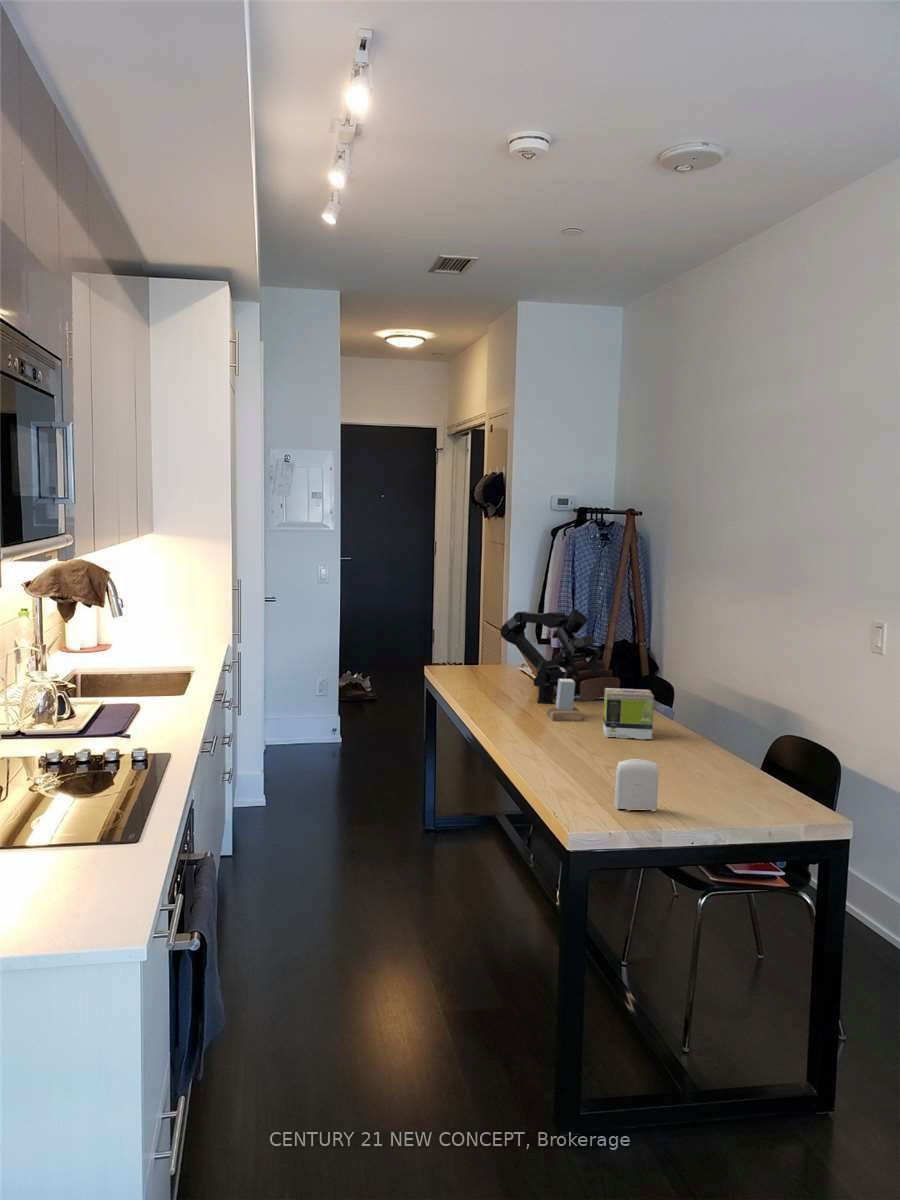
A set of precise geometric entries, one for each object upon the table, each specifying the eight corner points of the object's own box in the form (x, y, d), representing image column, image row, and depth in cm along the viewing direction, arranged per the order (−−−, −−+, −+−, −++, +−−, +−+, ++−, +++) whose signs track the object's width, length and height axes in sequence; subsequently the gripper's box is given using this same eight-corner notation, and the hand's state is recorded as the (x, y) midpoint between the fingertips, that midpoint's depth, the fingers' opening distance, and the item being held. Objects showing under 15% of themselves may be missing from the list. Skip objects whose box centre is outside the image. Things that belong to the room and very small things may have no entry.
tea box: (648, 733, 292) (651, 689, 290) (652, 741, 282) (655, 695, 280) (602, 730, 293) (604, 686, 292) (604, 738, 283) (607, 692, 282)
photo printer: (615, 811, 215) (618, 761, 213) (612, 805, 219) (615, 756, 217) (658, 813, 214) (661, 763, 213) (654, 807, 218) (657, 758, 217)
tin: (555, 706, 310) (558, 678, 308) (569, 707, 311) (572, 678, 309) (558, 710, 306) (561, 681, 304) (572, 710, 307) (575, 681, 305)
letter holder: (563, 697, 343) (565, 661, 342) (602, 693, 354) (604, 658, 352) (579, 702, 335) (581, 665, 333) (619, 698, 345) (621, 662, 344)
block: (546, 715, 313) (546, 705, 312) (573, 715, 314) (574, 706, 314) (552, 722, 303) (553, 712, 302) (581, 722, 304) (581, 712, 304)
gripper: (561, 628, 311) (582, 664, 304) (599, 626, 322) (619, 661, 315) (545, 647, 318) (564, 683, 311) (582, 644, 329) (602, 678, 322)
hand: (588, 676), depth 314 cm, fingers open, 9 cm apart
